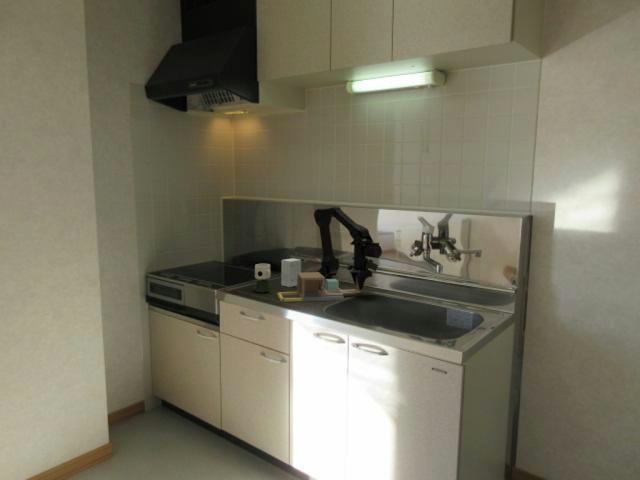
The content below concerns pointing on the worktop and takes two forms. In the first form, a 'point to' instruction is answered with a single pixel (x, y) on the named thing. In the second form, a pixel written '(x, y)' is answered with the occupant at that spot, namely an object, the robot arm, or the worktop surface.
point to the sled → (342, 291)
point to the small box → (290, 272)
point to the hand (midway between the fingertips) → (358, 288)
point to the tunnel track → (308, 289)
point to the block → (331, 284)
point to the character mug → (262, 277)
